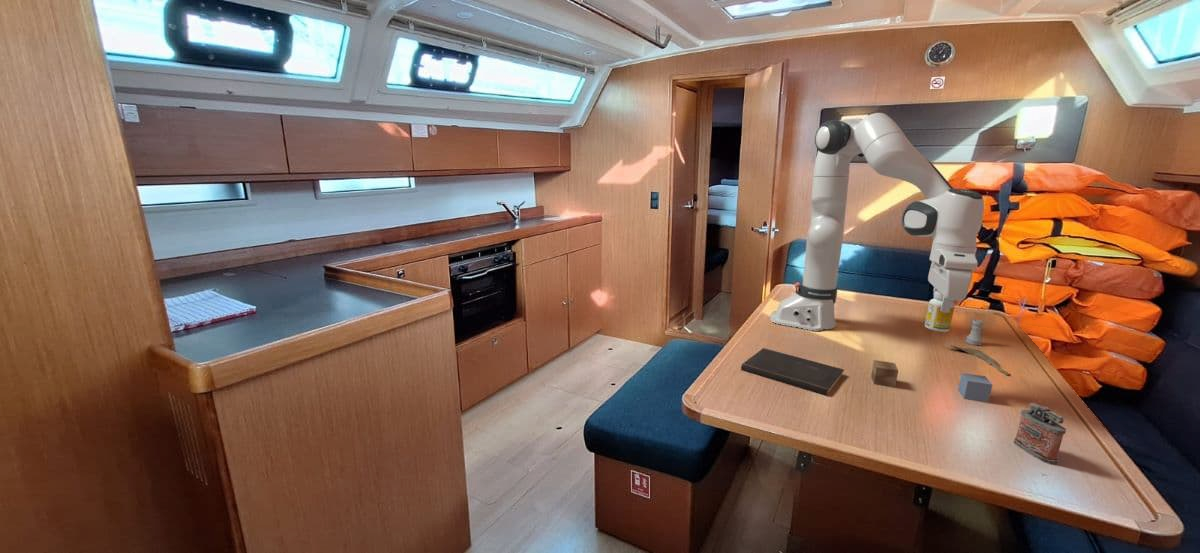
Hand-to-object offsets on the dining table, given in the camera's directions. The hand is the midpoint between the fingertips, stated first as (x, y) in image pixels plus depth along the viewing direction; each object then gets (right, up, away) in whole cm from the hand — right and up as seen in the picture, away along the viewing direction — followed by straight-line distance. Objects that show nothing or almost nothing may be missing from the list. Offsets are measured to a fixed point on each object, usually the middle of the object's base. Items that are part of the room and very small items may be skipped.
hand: (940, 308), depth 121 cm
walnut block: (-11, -21, +6) cm, 24 cm away
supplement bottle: (0, -6, +1) cm, 6 cm away
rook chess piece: (+35, -14, +34) cm, 51 cm away
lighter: (+2, -28, -24) cm, 37 cm away
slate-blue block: (+8, -23, -1) cm, 24 cm away
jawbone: (+25, -18, +21) cm, 37 cm away
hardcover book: (-34, -20, +12) cm, 41 cm away
